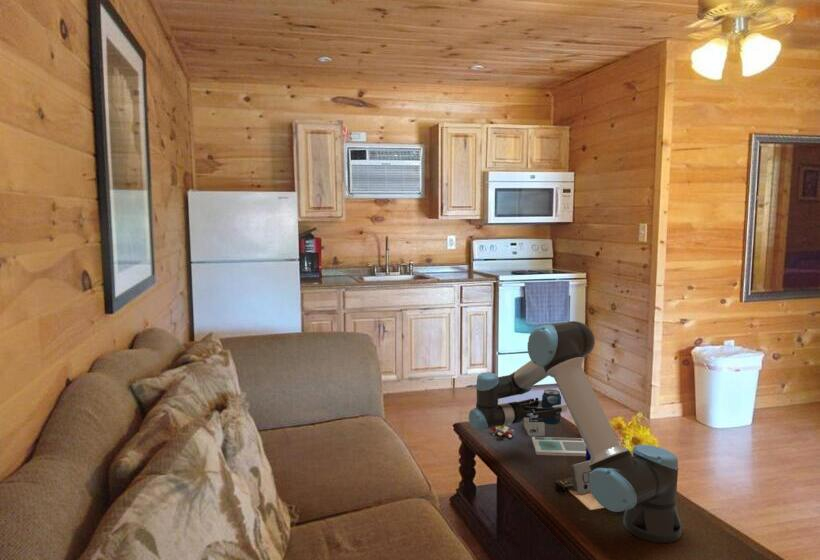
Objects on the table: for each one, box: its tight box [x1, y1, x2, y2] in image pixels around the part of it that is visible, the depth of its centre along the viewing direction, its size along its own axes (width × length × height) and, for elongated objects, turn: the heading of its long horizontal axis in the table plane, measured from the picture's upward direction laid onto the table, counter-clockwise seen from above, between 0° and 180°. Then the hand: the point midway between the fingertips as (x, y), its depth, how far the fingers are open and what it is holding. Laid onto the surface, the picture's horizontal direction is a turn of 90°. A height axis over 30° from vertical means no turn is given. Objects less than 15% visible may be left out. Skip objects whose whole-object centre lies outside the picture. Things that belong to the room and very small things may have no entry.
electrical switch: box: [569, 460, 592, 495], centre depth 183 cm, size 9×5×9 cm, turn 116°
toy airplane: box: [489, 424, 515, 439], centre depth 226 cm, size 9×9×6 cm
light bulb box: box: [523, 405, 546, 437], centre depth 231 cm, size 11×7×11 cm, turn 179°
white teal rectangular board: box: [531, 436, 586, 457], centre depth 215 cm, size 14×20×1 cm
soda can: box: [541, 388, 562, 426], centre depth 213 cm, size 7×7×12 cm
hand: (559, 404), depth 215 cm, fingers closed on soda can, 7 cm apart
